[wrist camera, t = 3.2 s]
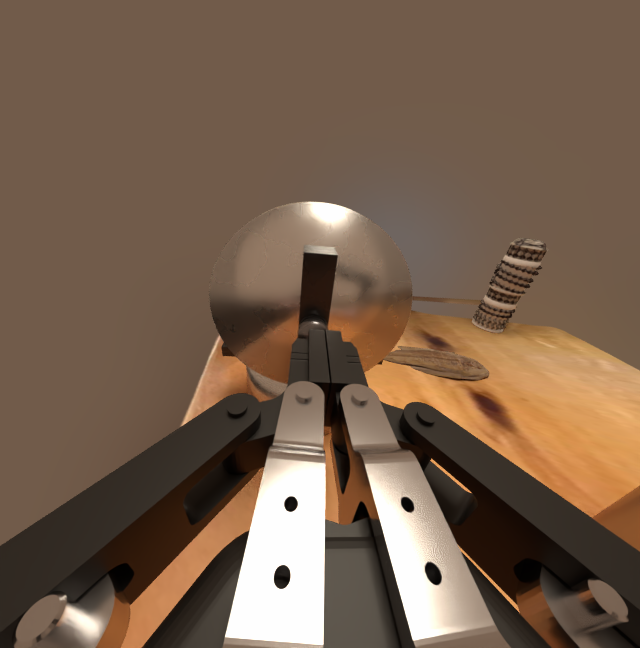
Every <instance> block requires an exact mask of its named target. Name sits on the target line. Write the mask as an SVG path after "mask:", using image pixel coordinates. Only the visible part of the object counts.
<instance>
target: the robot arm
mask: <svg viewBox="0 0 640 648" xmlns="http://www.w3.org/2000/svg"><path fill="white" fill-rule="evenodd" d="M324 426H326V427H331V433H332V435H331V440H330V450H331V456H332V462H333V468H334V475H335V481H336V487H337V493H338V502H339V511H338V518H339V524H338V523H335V522H332V521H329V520H326V519H325V451H324V450H323V438H324ZM431 458H432V459H433V460H434V461H435V462H437V463H438V464H439V465H440V466H441V467H443V468H444V469H445V470H446V471H447V472H448V473H450V474H451V475H452V476H453V477H454V478H456V479H457V480H458V481H459V482H460V483H461V484H463V485H464V486H465V487H466V488H467V489H469V490H470V491H471V492H472V493H473V494H472V493H469V492H467V491H465V490H464V489H463V488H461V487H460V486H459V485H458V484H457V483H456V482H454V481H453V480H452V479H451V478H450V477H449V476H447V475H446V474H445V473H444V472H443V471H442V470H440V469H439V468H438V467H437V466H436V465H434V464H433V463H432V462H431V461H430V460H431ZM262 467H265V468H264V472H263V476H262V481H261V485H260V489H259V494H258V498H257V502H256V507H255V511H254V515H253V519H252V524H251V528H250V530H249V531H247V532H245V533H243V534H242V535H240V536H239V537H237V538H236V539H234V540H233V541H232V542H231V543H229V544H228V545H227V546H226V547H224V548H223V549H222V550H221V552H220V553H219V554H218V555H217V556H216V557H215V558H214V559H213V560H212V561H211V562H210V563H209V565H208V566H207V567H206V568H205V570H204V571H203V572H202V573H201V575H200V576H199V577H198V578H197V580H196V581H195V582H194V583H193V585H192V586H191V587H190V588H189V590H188V591H187V592H186V593H185V594H184V596H183V597H182V598H181V599H180V601H179V602H178V603H177V604H176V606H175V607H174V608H173V609H172V611H171V612H170V613H169V614H168V616H167V617H166V618H165V619H164V621H163V622H162V623H161V624H160V626H159V627H158V628H157V629H156V631H155V632H154V633H153V634H152V636H151V637H150V638H149V639H148V641H147V642H146V643H145V644H144V646H143V647H142V648H640V486H639V487H637V488H636V489H634V490H633V491H631V492H630V493H628V494H627V495H625V496H624V497H622V498H621V499H619V500H618V501H616V502H615V503H613V504H612V505H610V506H609V507H607V508H606V509H604V510H603V511H601V512H600V513H599V514H597V515H596V516H594V517H593V518H591V517H590V516H588V515H587V514H585V513H584V512H582V511H581V510H579V509H578V508H577V507H575V506H574V505H572V504H571V503H569V502H568V501H567V500H565V499H564V498H562V497H561V496H559V495H558V494H557V493H555V492H554V491H552V490H551V489H549V488H548V487H547V486H545V485H544V484H542V483H541V482H539V481H538V480H536V479H535V478H534V477H532V476H531V475H529V474H528V473H526V472H525V471H524V470H522V469H521V468H519V467H518V466H516V465H515V464H514V463H512V462H511V461H509V460H508V459H506V458H505V457H503V456H502V455H501V454H499V453H498V452H496V451H495V450H493V449H492V448H491V447H489V446H488V445H486V444H485V443H483V442H482V441H481V440H479V439H478V438H476V437H475V436H473V435H472V434H471V433H469V432H468V431H466V430H465V429H463V428H462V427H460V426H459V425H458V424H456V423H455V422H453V421H452V420H450V419H449V418H448V417H446V416H445V415H443V414H442V413H440V412H439V411H438V410H436V409H435V408H433V407H431V406H429V405H427V404H425V403H421V402H412V403H409V404H407V405H406V406H405V408H404V410H403V409H400V408H397V407H394V406H390V405H388V404H385V403H383V402H381V401H380V400H379V398H378V396H377V394H376V393H375V392H374V391H373V390H372V389H370V388H369V387H368V384H367V381H366V377H365V374H364V371H363V367H362V364H361V361H360V358H359V354H358V351H357V348H356V347H355V346H354V345H353V344H352V343H351V342H344V341H343V340H342V335H341V331H335V330H325V331H324V330H320V329H309V331H308V339H300V338H297V339H296V340H295V341H294V343H293V344H292V349H291V358H290V368H289V377H288V385H287V388H286V390H285V391H284V392H283V393H282V394H281V395H280V396H278V397H276V398H274V399H270V400H266V401H262V402H259V401H258V399H257V398H256V397H254V396H252V395H250V394H245V393H238V394H233V395H230V396H228V397H226V398H224V399H223V400H221V401H220V402H218V403H216V404H215V405H213V406H212V407H210V408H209V409H207V410H206V411H204V412H203V413H201V414H200V415H198V416H197V417H195V418H194V419H192V420H191V421H189V422H188V423H186V424H185V425H183V426H182V427H180V428H179V429H177V430H176V431H174V432H172V433H171V434H169V435H168V436H166V437H165V438H163V439H162V440H160V441H159V442H157V443H156V444H154V445H153V446H151V447H150V448H148V449H147V450H145V451H144V452H142V453H141V454H139V455H138V456H136V457H135V458H133V459H131V460H130V461H128V462H127V463H125V464H124V465H122V466H121V467H119V468H118V469H116V470H115V471H113V472H112V473H110V474H109V475H107V476H106V477H104V478H103V479H101V480H100V481H98V482H97V483H95V484H94V485H92V486H91V487H89V488H87V489H86V490H84V491H83V492H81V493H80V494H78V495H77V496H75V497H74V498H72V499H71V500H69V501H68V502H66V503H65V504H63V505H62V506H60V507H59V508H57V509H56V510H54V511H53V512H51V513H50V514H48V515H46V516H45V517H43V518H42V519H40V520H39V521H37V522H36V523H34V524H33V525H31V526H30V527H28V528H27V529H25V530H24V531H22V532H21V533H19V534H18V535H16V536H15V537H13V538H12V539H10V540H9V541H7V542H6V543H4V544H2V545H1V546H0V648H121V646H122V644H123V641H124V639H125V637H126V633H127V630H128V627H129V622H130V605H131V604H132V603H133V602H134V601H135V600H136V599H137V598H138V597H139V596H140V595H141V593H142V592H143V591H144V590H145V589H146V588H147V587H148V586H149V585H150V584H151V583H152V582H153V581H154V580H155V579H156V578H157V577H158V576H159V575H160V574H161V573H162V572H163V570H164V569H165V568H166V567H167V566H168V565H169V564H170V563H171V562H172V561H173V560H174V559H175V558H176V557H177V556H178V555H179V554H180V553H181V552H182V551H183V550H184V549H185V547H186V546H187V545H188V544H189V543H190V542H191V541H192V540H193V539H194V538H195V537H196V536H197V535H198V534H199V533H200V532H201V531H202V530H203V529H204V528H205V527H206V526H207V525H208V523H209V522H210V521H211V520H212V519H213V518H214V517H215V516H216V515H217V514H218V513H219V512H220V511H221V510H222V509H223V508H224V507H225V506H226V505H227V504H228V503H229V502H230V500H231V499H232V498H233V497H234V496H235V495H236V494H237V493H238V492H239V491H240V490H241V489H242V488H243V487H244V486H245V485H246V484H247V483H248V482H249V481H250V480H251V479H252V477H253V476H254V475H255V474H256V473H257V472H258V470H259V469H260V468H262ZM457 544H458V545H459V546H460V547H461V548H462V549H463V550H464V551H465V552H466V553H467V554H468V555H469V556H470V558H471V559H472V560H473V561H474V562H475V563H476V564H477V565H478V566H479V567H480V568H481V569H482V570H483V571H484V572H485V573H486V574H487V575H488V576H489V577H490V578H491V579H492V580H493V581H494V582H495V583H496V584H497V585H498V586H499V587H500V588H501V589H502V590H503V591H504V592H505V593H506V594H507V595H508V596H509V597H510V598H511V599H512V600H513V601H514V602H515V603H516V604H517V605H518V608H519V611H520V613H519V612H518V611H517V610H516V609H515V608H514V607H513V606H512V605H511V604H510V602H509V601H508V600H507V599H506V598H505V597H504V596H503V595H502V594H501V593H500V592H499V591H498V590H497V589H496V588H495V586H494V585H493V584H492V583H491V582H490V581H489V580H488V579H487V578H486V577H485V576H484V575H483V574H482V573H481V572H480V570H479V569H478V568H477V567H476V566H475V565H474V564H473V563H472V562H471V561H470V560H469V559H468V558H467V557H466V556H465V555H464V554H463V553H462V552H461V551H460V549H459V547H458V545H457Z"/></svg>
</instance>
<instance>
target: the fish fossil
mask: <svg viewBox="0 0 640 648" xmlns="http://www.w3.org/2000/svg"><path fill="white" fill-rule="evenodd" d="M398 348H400V349H401V350H395V351H394V352H390V353H389V354H388V355H387V356H386V357H385V358H384V359H383V360H386V361H389V362H393V363H397V364H401V365H408V366H411V367H412V368H413V369H415V370H418V371H421V372H424V373H426V374H433V375H437V376H443V377H450V378H458V379H473V380H482V379H483V378H486V377H488V376H489V371H488V370H487V369H486V368H485V367H484V366H483V365H482V364H480V363H479V362H478V361H476V360H474V359H471V358H468V357H465V356H462V355H458V354H455V353H454V352H448V351H446V352H442V351H438V350H433V349H424V348H415V347H403V346H398Z"/></svg>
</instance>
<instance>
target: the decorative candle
mask: <svg viewBox="0 0 640 648" xmlns="http://www.w3.org/2000/svg"><path fill="white" fill-rule="evenodd" d="M510 244H511V246H510V248H509V250H508V252H507V254H506V255H505V256H504V258H503V260H501V263H500V264H498V265H497V269H496V270H495V271H494V274H495V275H496V276H493V277H492V279H491V281H492V282H490V283H489V286H490V289H489V291H488V293H487V294H486V295H485V297H484V299H483V300H481V303H482V304H480V305H479V309H478V310H476V314H475V315H474V317H473V320H472V323H473V324H474V325H475V326H477V327H479V328H481V329H483V330H486V331H489V332H493V333H501V332H503V330H504V328H506V324H507V323H509V319H508V318H511V317H512V314H511V313H514V312H515V307H516V306H517V302H518V301H519V299H520V297H521V296H522V295H524V294H525V292H524V289H525V288H530V286H529V284H528V282H529V283H531V282H533V279H531V277H532V275H538V272H537V271H535V269H538V270H539V269H541V268H542V267H541V266H539V265H540V264H541V260H542V258H543V257H544V255H545V253H546V251H547V250H548V249H546V244H545V243H544V242H542V241H537V240H532V239H525V238H519V239H517V240H515V241H514V242H513V243H510ZM500 266H501V267H500ZM497 272H498V273H497Z"/></svg>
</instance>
